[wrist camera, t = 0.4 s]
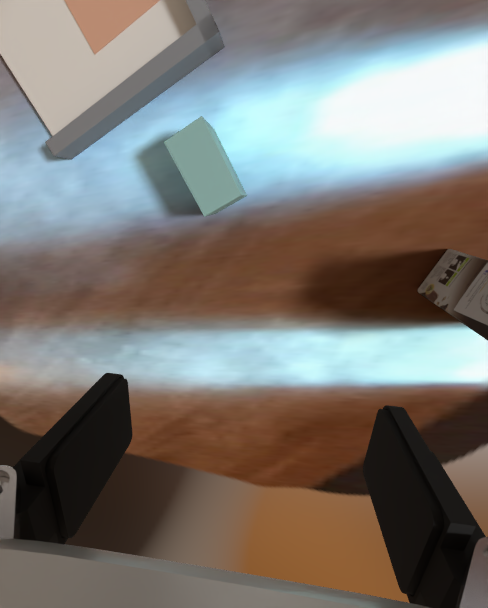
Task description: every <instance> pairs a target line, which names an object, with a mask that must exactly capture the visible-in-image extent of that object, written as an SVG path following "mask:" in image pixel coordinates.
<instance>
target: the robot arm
mask: <svg viewBox="0 0 488 608" xmlns="http://www.w3.org/2000/svg"><path fill="white" fill-rule="evenodd" d="M131 439H132V425H131V414H130V403H129V392H128V382H127V379H124V377H123V375H121V374H113V373H106V374H104V375H103V376H102V377H101V378H100V379H99V380H98V381H97V382H96V383H95V384H94V385H93V386H92V387H91V388H90V389H89V390H88V391H87V392H86V393H85V395H84V396H83V397H82V398H81V399H80V400H79V401H78V402H77V403H76V404H75V405H74V406H73V407H72V408H71V409H70V410H69V411H68V412H67V413H66V414H65V415H64V416H63V417H62V418H61V419H60V420H59V421H58V422H57V423H56V424H55V425H54V426H53V427H52V428H51V429H50V430H49V431H48V432H47V433H46V434H45V435H44V436H43V437H42V438H41V439H40V440H39V441H38V442H37V443H36V444H35V445H34V446H33V447H32V448H31V449H30V450H29V451H28V452H27V453H26V454H25V455H24V456H23V457H22V458H21V459H20V461H19V462H18V463H17V464H16V465H15V466H14V467H13V468H12V467H9V466H5V465H2V466H0V608H488V537H486V536H485V535H484V533H483V532H482V530H481V528H480V527H479V525H478V524H477V522H476V520H475V519H474V517H473V515H472V514H471V512H470V511H469V509H468V507H467V506H466V504H465V503H464V501H463V499H462V498H461V496H460V494H459V493H458V491H457V490H456V488H455V487H454V485H453V483H452V481H451V480H450V478H449V477H448V475H447V474H446V472H445V470H444V469H443V467H442V465H441V464H440V462H439V460H438V459H437V457H436V456H435V455H434V453H433V452H431V451H430V450H429V448H428V447H427V445H426V443H425V442H424V440H423V439H422V437H421V435H420V434H419V432H418V430H417V429H416V427H415V425H414V424H413V422H412V420H411V419H410V417H409V416H408V414H407V412H406V411H405V409H404V408H402V407H395V406H387V405H386V406H384V407H383V409H379V410H378V413H377V416H376V420H375V424H374V427H373V431H372V435H371V439H370V442H369V446H368V450H367V453H366V457H365V461H364V465H363V473H364V477H365V481H366V484H367V487H368V490H369V493H370V496H371V499H372V503H373V506H374V509H375V512H376V516H377V519H378V522H379V525H380V528H381V531H382V535H383V537H384V541H385V544H386V547H387V550H388V553H389V557H390V560H391V563H392V566H393V569H394V572H395V576H396V579H397V582H398V585H399V588H400V590H401V592H402V593H405V594H407V596H408V599H409V602H410V603H407V602H401V601H395V600H391V599H386V598H381V597H376V596H371V595H365V594H360V593H355V592H349V591H343V590H337V589H332V588H326V587H320V586H314V585H308V584H302V583H297V582H291V581H286V580H279V579H274V578H268V577H262V576H256V575H250V574H244V573H239V572H233V571H227V570H221V569H215V568H209V567H202V566H197V565H191V564H184V563H178V562H173V561H167V560H160V559H154V558H148V557H142V556H136V555H129V554H122V553H117V552H111V551H104V550H98V549H92V548H86V547H78V546H71V545H64V544H65V542H66V541H67V539H68V538H72V537H73V536H74V535H75V534H76V532H77V530H78V529H79V527H80V526H81V524H82V522H83V521H84V519H85V517H86V516H87V514H88V512H89V511H90V509H91V507H92V506H93V504H94V502H95V501H96V499H97V497H98V496H99V494H100V492H101V491H102V489H103V488H104V486H105V484H106V482H107V481H108V479H109V478H110V476H111V474H112V472H113V471H114V469H115V468H116V466H117V464H118V463H119V461H120V459H121V458H122V456H123V454H124V453H125V451H126V449H127V448H128V446H129V444H130V442H131Z"/></svg>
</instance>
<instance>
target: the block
mask: <svg viewBox="0 0 488 608" xmlns="http://www.w3.org/2000/svg"><path fill="white" fill-rule="evenodd" d="M164 144H165V145H166V147H167V149H168V151H169V153H170V155H171V156H172V158H173V160H174V162H175V164H176V166H177V167H178V169H179V171H180V173H181V175H182V177H183V178H184V180H185V182H186V184H187V186H188V188H189V190H190V191H191V193H192V195H193V197H194V199H195V201H196V202H197V204H198V206H199V208H200V210H201V212H202V213H203V215H204V217H205V216H209V215H213V214H216V213H218V212H219V211H221V210H223V209H225V208H226V207H228V206H230V205H232V204H233V203H235V202H237V201H239V200H240V199H242V198H244V197H246V196H247V195H246V192H245V190H244V188H243V186H242V184H241V182H240V180H239V178H238V176H237V174H236V172H235V170H234V168H233V166H232V164H231V162H230V160H229V158H228V156H227V154H226V152H225V150H224V148H223V146H222V144H221V142H220V140H219V138H218V136H217V134H216V132H215V130H214V129H213V128H212V127H211V125H210V124H209V123H208V122H207V121H206V120H205V119H204V118H203V117H202V116H201V117H200V118H198V119H197V120H195V121H194V122H192V123H191V124H189V125H188V126H186V127H185V128H184V129H182V130H181V131H179V132H178V133H176V134H175V135H173V136H172V137H170V138H169V139H167V140H166V141H164Z"/></svg>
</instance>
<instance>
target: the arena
mask: <svg viewBox="0 0 488 608" xmlns="http://www.w3.org/2000/svg"><path fill="white" fill-rule="evenodd" d="M224 47H225V46H224V44H223V41H222V38H221V35H220V32H219V30H218V28H217V25H216V23H215V21H214V19H213V16H212V14H211V12H210V10H209V8H208V5H207V3H206V1H205V0H0V54H1V56H2V57H3V59H4V60H5V62H6V64H7V65H8V67H9V68H10V70H11V71H12V73H13V74H14V76H15V78H16V79H17V81H18V82H19V84H20V85H21V87H22V89H23V90H24V92H25V93H26V95H27V96H28V98H29V100H30V101H31V103H32V104H33V106H34V107H35V109H36V110H37V112H38V114H39V115H40V117H41V118H42V120H43V121H44V123H45V125H46V126H47V128H48V129H49V131H50V132H51V134H52V137H51V138H50V139H49V140H47V141H46V142H45V143H46V144H47V146H48V147H49V149H50V150H51V152H52V153H53V155H54V156H57V157H62V158H67V159H73V158H74V157H75V156H77V155H78V154H80V153H81V152H82V151H84V150H85V149H86V148H88V147H89V146H90V145H92V144H93V143H95V142H96V141H97V140H99V139H100V138H101V137H103V136H104V135H105V134H107V133H108V132H110V131H111V130H112V129H114V128H115V127H116V126H118V125H119V124H120V123H122V122H123V121H125V120H126V119H127V118H129V117H130V116H131V115H133V114H134V113H135V112H137V111H138V110H140V109H141V108H142V107H144V106H145V105H146V104H148V103H149V102H150V101H152V100H153V99H155V98H156V97H157V96H159V95H160V94H161V93H163V92H164V91H165V90H167V89H168V88H170V87H171V86H172V85H174V84H175V83H176V82H178V81H179V80H180V79H182V78H183V77H185V76H186V75H187V74H189V73H190V72H191V71H193V70H194V69H195V68H197V67H198V66H200V65H201V64H202V63H204V62H205V61H206V60H208V59H209V58H210V57H212V56H213V55H215V54H216V53H217V52H219V51H220V50H221V49H223V48H224Z"/></svg>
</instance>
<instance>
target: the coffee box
mask: <svg viewBox="0 0 488 608" xmlns="http://www.w3.org/2000/svg"><path fill="white" fill-rule="evenodd" d="M418 293H420V294H421V295H422V296H424V297H425V298H427V299H428V300H430V301H431V302H432V303H434V304H435V305H437V306H438V307H440V308H441V309H443V310H444V311H446V312H447V313H449V314H450V315H452V316H453V317H455V318H456V319H457V320H459V321H460V322H462V323H463V324H465V325H466V326H468V327H469V328H470V329H472V330H473V331H475V332H476V333H478V334H479V335H481V336H482V337H484V338H485V339H486V340H488V260H484V259H481V258H478V257H475V256H471V255H468V254H465V253H461V252H458V251H455V250H452V249H448V250H447V251H446V252H445V254H444V255H443V256H442V258H441V259H440V260H439V262H438V263H437V264H436V266H435V267H434V268H433V270H432V271H431V272H430V274H429V275H428V276H427V278H426V279H425V280H424V282H423V283H422V284H421V286H420V287H419V288H418Z"/></svg>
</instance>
